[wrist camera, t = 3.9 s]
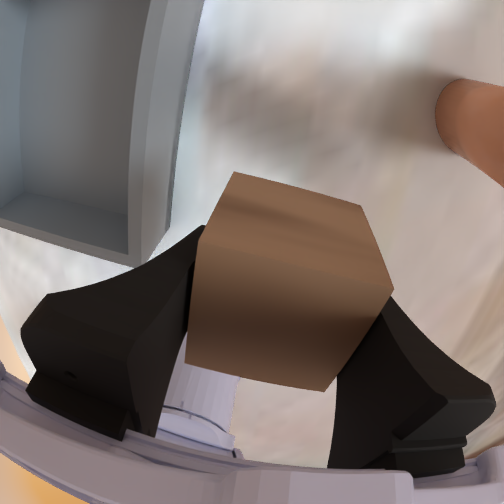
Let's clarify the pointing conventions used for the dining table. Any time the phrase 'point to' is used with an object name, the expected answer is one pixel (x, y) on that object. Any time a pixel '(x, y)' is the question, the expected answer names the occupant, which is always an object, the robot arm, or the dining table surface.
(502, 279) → the dining table surface
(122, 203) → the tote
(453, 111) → the terracotta cylinder
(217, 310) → the walnut block
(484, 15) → the dining table surface
